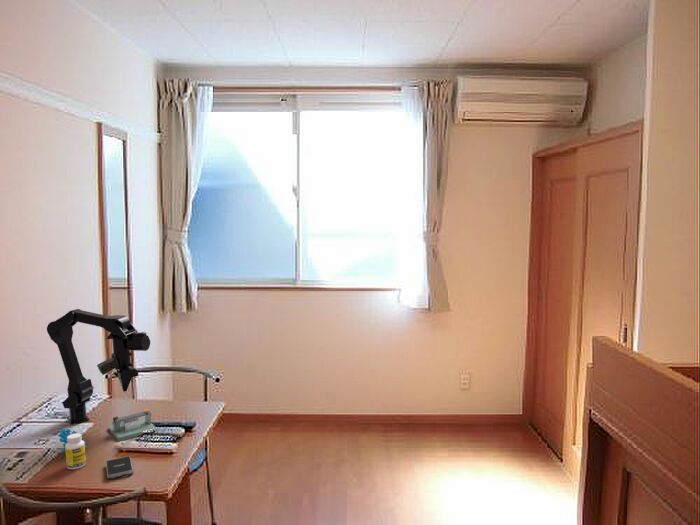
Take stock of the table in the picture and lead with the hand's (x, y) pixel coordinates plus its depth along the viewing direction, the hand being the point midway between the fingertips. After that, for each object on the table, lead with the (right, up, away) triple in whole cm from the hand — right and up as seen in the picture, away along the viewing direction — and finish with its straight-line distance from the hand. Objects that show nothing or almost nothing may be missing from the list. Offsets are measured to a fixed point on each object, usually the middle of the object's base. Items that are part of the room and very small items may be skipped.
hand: (124, 391), depth 205 cm
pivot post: (+1, -13, -9) cm, 16 cm away
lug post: (+10, -12, -3) cm, 16 cm away
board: (+5, -13, -6) cm, 15 cm away
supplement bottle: (-1, -16, -33) cm, 37 cm away
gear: (-7, -15, -22) cm, 28 cm away
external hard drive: (+14, -16, -37) cm, 43 cm away
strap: (+6, -8, -6) cm, 12 cm away
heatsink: (+5, -11, -7) cm, 14 cm away
